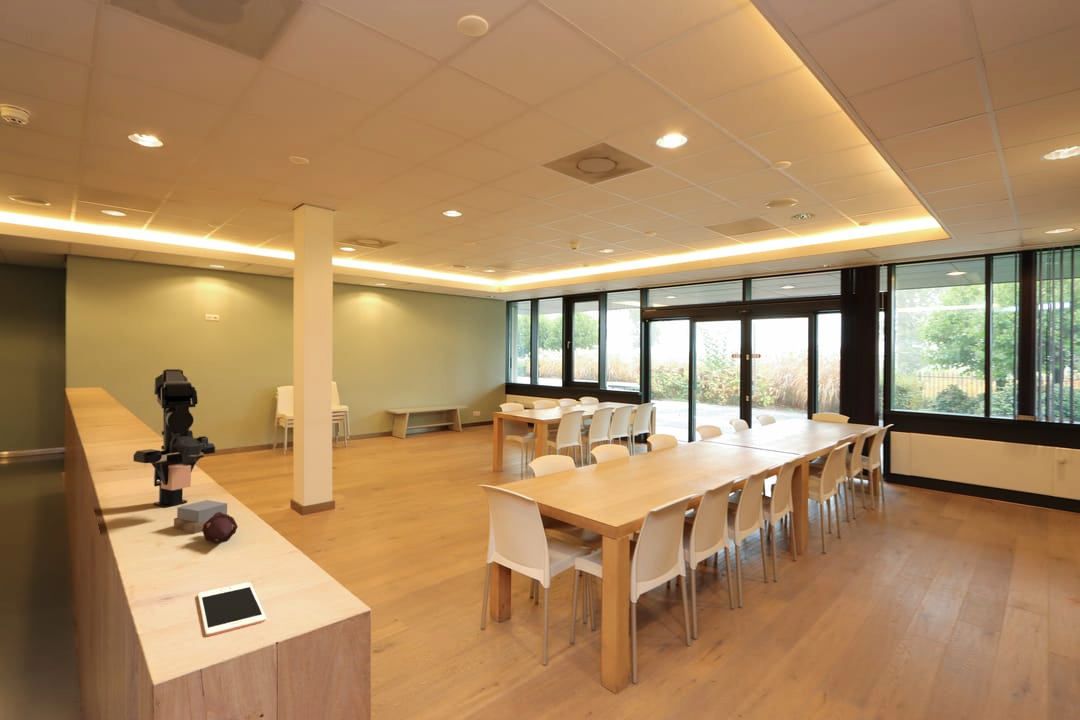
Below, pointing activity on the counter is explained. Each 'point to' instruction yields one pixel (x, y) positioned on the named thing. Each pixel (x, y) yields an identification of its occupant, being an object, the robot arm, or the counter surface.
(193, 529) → the tower bottom
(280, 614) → the counter surface
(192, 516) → the tower top
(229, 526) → the maroon plush toy
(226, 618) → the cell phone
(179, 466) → the block
